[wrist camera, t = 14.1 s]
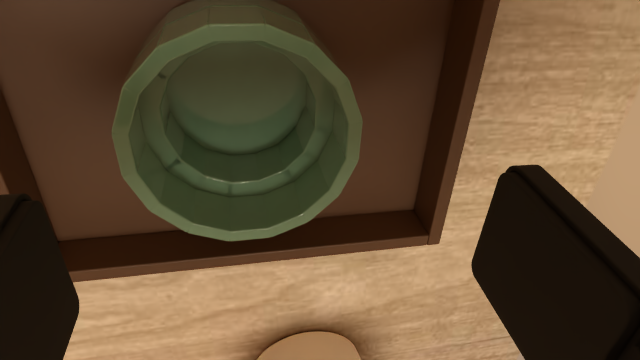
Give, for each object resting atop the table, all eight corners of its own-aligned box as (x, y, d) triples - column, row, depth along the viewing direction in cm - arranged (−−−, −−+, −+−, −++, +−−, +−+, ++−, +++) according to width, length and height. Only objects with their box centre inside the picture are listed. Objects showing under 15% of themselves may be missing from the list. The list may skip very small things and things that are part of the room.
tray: (489, -127, 15) (533, -129, 13) (419, 211, 23) (439, 244, 20) (-108, -164, 12) (-178, -175, 10) (50, 244, 19) (31, 287, 17)
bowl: (335, -11, 15) (373, 23, 12) (325, 164, 19) (352, 230, 16) (118, -12, 14) (84, 24, 10) (155, 175, 18) (139, 250, 14)
